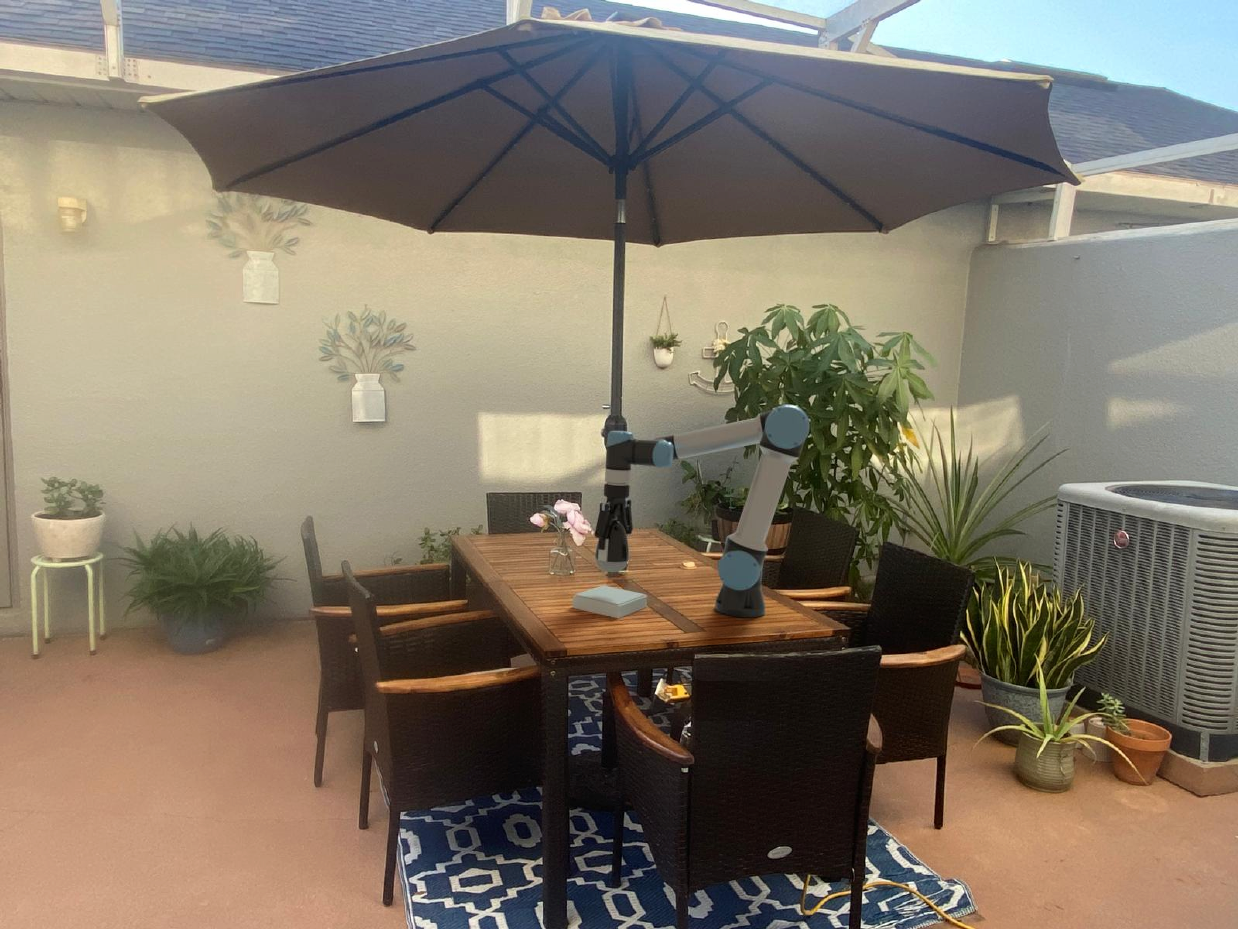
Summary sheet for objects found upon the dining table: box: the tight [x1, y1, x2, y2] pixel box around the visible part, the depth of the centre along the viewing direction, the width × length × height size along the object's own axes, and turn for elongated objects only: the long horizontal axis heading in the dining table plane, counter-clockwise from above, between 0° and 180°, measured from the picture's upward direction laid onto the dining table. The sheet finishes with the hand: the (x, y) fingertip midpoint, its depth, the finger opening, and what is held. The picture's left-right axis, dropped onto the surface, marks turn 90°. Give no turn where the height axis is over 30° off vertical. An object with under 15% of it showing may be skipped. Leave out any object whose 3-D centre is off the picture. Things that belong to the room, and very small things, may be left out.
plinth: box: [572, 585, 648, 619], centre depth 248 cm, size 16×16×4 cm
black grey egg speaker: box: [594, 519, 630, 573], centre depth 246 cm, size 10×10×15 cm
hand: (612, 557), depth 247 cm, fingers closed on black grey egg speaker, 10 cm apart
